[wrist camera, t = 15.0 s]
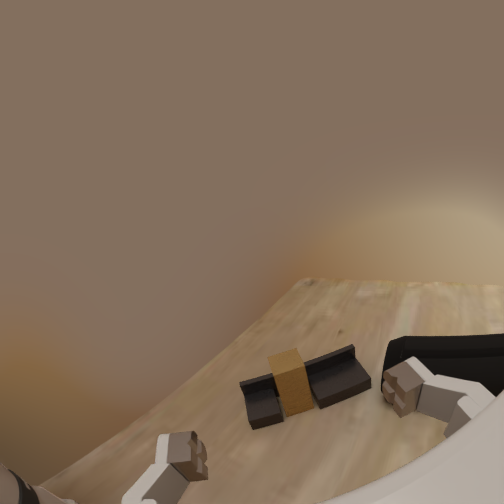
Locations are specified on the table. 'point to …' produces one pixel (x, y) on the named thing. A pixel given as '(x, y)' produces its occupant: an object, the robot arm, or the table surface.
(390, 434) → the table surface
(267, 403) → the rail
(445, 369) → the portable speaker
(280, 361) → the wooden block
